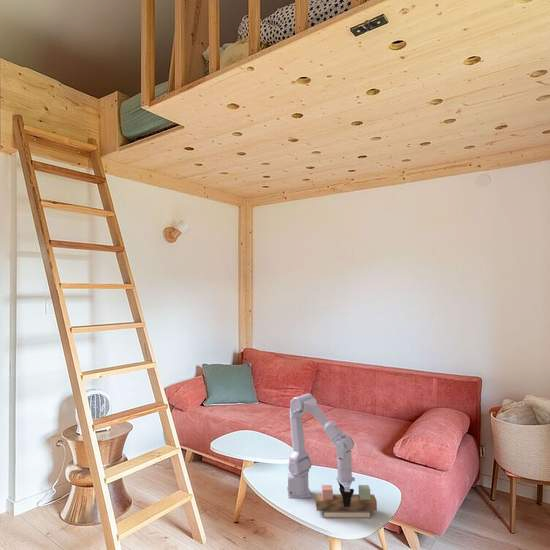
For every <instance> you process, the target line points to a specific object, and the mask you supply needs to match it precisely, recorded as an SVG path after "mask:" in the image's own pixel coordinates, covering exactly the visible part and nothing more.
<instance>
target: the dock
mask: <svg viewBox="0 0 550 550" xmlns="http://www.w3.org/2000/svg"><path fill="white" fill-rule="evenodd" d="M322 512H323V516H324V518H371V511H322Z"/></svg>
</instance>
